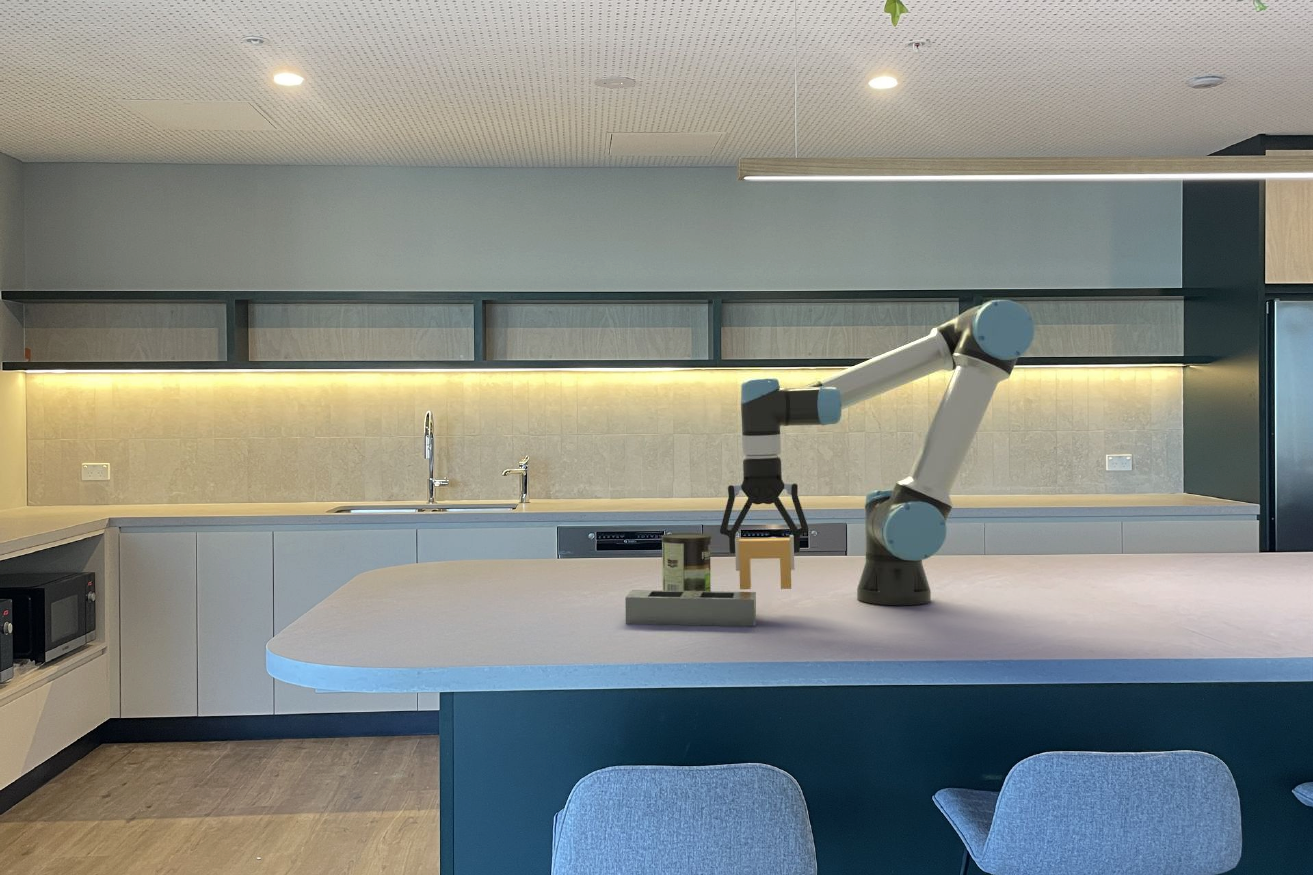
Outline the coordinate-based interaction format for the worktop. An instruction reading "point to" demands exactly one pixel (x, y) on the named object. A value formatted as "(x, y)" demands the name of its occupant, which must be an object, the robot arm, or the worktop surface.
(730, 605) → the gray slotted block
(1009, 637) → the worktop surface
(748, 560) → the clip
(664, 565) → the coffee can
